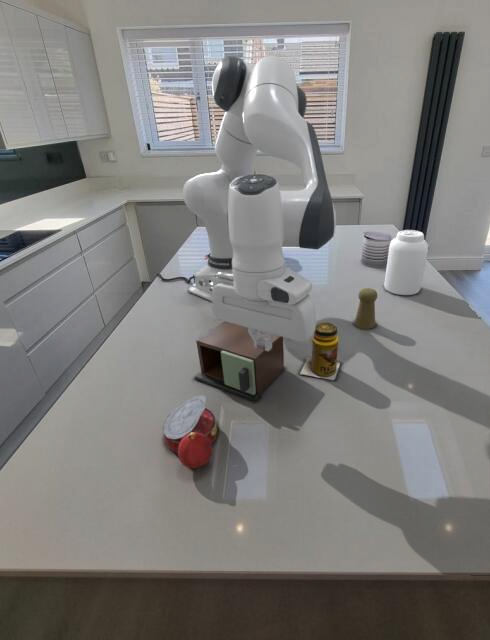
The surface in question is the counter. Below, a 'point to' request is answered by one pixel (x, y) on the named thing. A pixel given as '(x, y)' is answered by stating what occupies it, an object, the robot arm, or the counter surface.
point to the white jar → (406, 263)
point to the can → (375, 248)
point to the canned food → (189, 422)
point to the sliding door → (238, 372)
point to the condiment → (323, 353)
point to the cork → (366, 309)
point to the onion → (195, 450)
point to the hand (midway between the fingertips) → (263, 348)
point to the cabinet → (242, 345)
